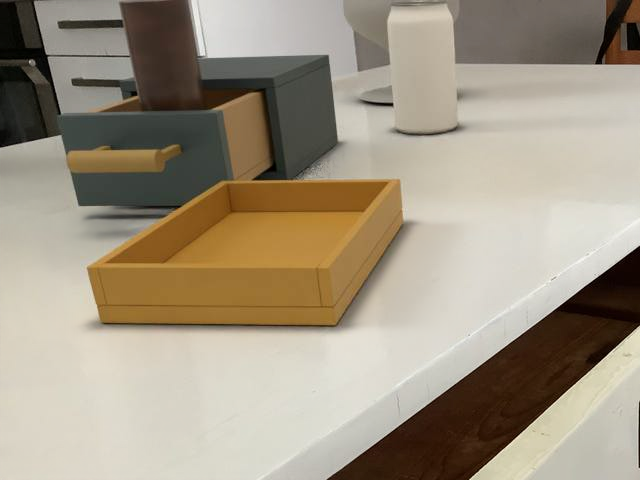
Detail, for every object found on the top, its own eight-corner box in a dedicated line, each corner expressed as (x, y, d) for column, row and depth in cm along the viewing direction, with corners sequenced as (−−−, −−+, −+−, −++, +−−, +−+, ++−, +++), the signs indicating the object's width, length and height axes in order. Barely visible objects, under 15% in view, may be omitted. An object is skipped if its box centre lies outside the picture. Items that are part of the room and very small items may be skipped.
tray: (100, 323, 42) (85, 267, 41) (229, 223, 58) (221, 180, 57) (336, 326, 41) (328, 267, 40) (403, 223, 56) (400, 178, 55)
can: (446, 120, 90) (439, -1, 85) (467, 130, 85) (461, 1, 80) (388, 127, 88) (377, 3, 83) (405, 137, 83) (395, 5, 78)
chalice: (338, 96, 109) (325, -31, 103) (438, 86, 115) (431, -36, 108) (372, 111, 98) (360, -31, 91) (481, 99, 103) (477, -37, 96)
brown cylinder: (143, 178, 62) (105, 2, 57) (170, 164, 66) (138, -1, 61) (202, 178, 62) (170, 0, 57) (226, 163, 66) (198, -4, 61)
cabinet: (287, 182, 68) (273, 77, 65) (140, 183, 70) (118, 81, 66) (338, 142, 82) (328, 54, 79) (214, 144, 84) (199, 58, 80)
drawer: (206, 223, 55) (188, 124, 52) (43, 224, 56) (17, 127, 54) (295, 159, 72) (285, 81, 69) (168, 160, 73) (153, 85, 70)
